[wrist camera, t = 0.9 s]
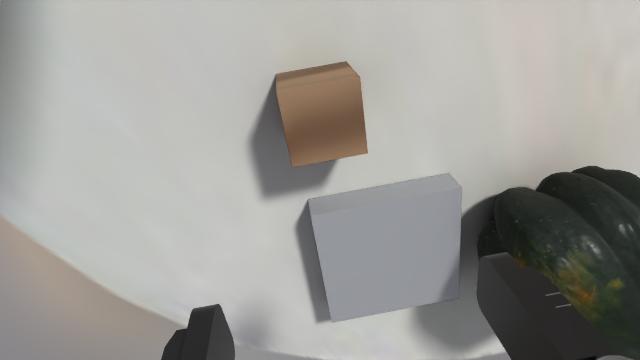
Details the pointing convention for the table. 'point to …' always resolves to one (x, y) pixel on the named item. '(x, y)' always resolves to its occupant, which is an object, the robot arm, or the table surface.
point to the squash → (579, 245)
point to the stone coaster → (389, 246)
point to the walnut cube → (322, 113)
